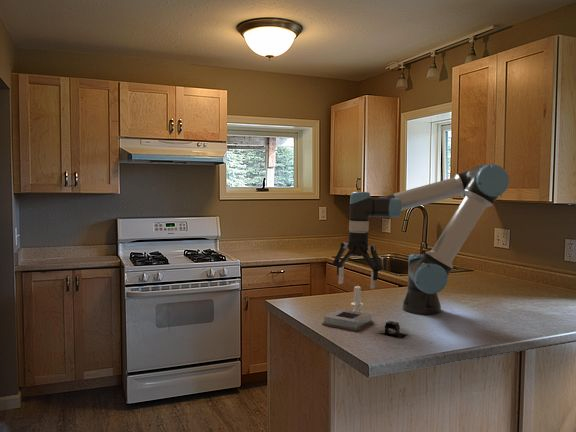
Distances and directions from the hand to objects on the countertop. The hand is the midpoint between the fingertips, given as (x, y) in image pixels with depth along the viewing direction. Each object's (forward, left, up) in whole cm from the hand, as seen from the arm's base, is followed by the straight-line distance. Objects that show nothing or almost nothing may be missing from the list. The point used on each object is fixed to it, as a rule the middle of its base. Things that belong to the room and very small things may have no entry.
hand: (356, 286), depth 193 cm
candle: (0, 0, -12) cm, 12 cm away
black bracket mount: (-20, +15, -13) cm, 28 cm away
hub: (-2, +12, -12) cm, 17 cm away
